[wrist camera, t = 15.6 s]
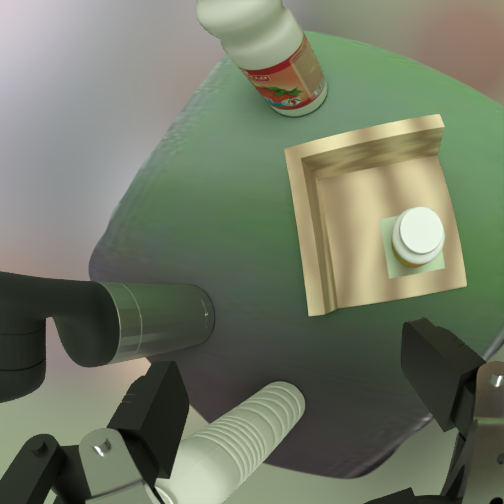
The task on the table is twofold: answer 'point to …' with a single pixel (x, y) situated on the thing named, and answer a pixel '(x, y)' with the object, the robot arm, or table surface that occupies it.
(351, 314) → the table surface
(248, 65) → the fruit juice
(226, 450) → the water bottle
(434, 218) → the supplement bottle
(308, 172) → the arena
